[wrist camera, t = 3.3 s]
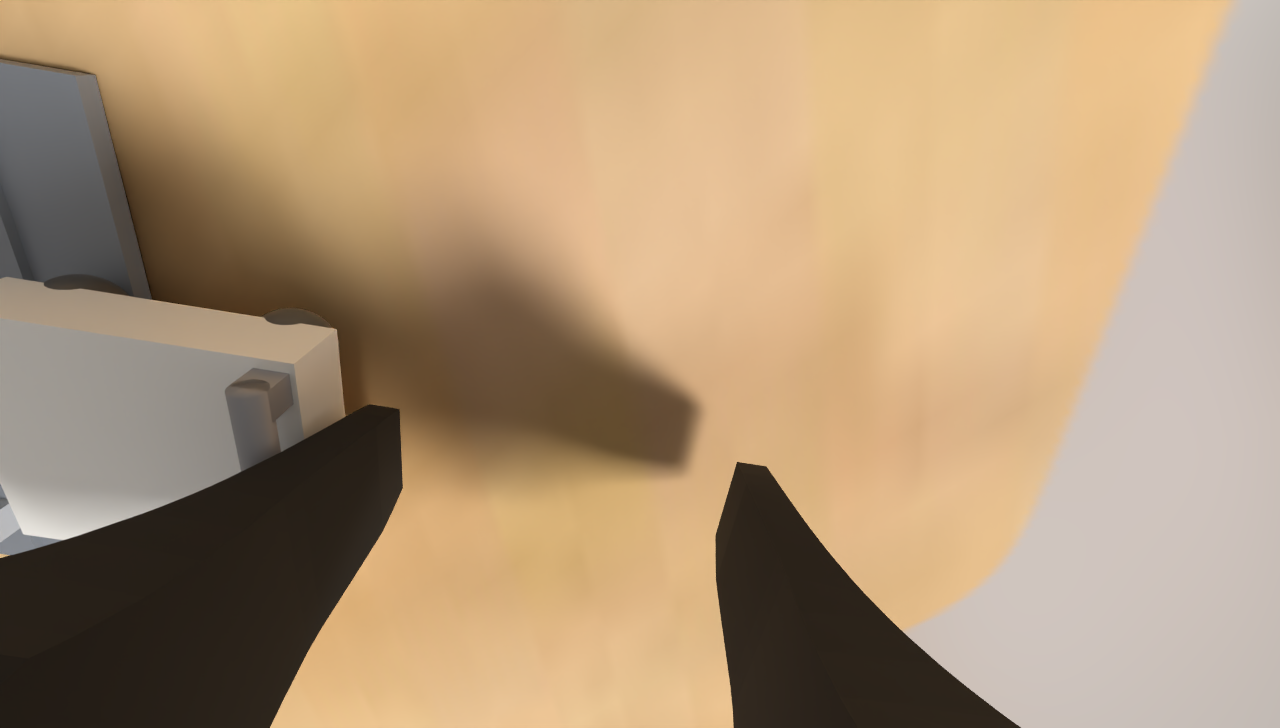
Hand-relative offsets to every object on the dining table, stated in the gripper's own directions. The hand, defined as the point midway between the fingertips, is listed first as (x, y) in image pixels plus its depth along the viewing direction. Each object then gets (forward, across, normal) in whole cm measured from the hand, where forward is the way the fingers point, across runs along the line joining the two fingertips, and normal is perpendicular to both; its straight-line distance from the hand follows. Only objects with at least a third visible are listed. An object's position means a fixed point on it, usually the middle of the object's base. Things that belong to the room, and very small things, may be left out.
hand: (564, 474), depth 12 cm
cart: (+1, +8, 0) cm, 8 cm away
